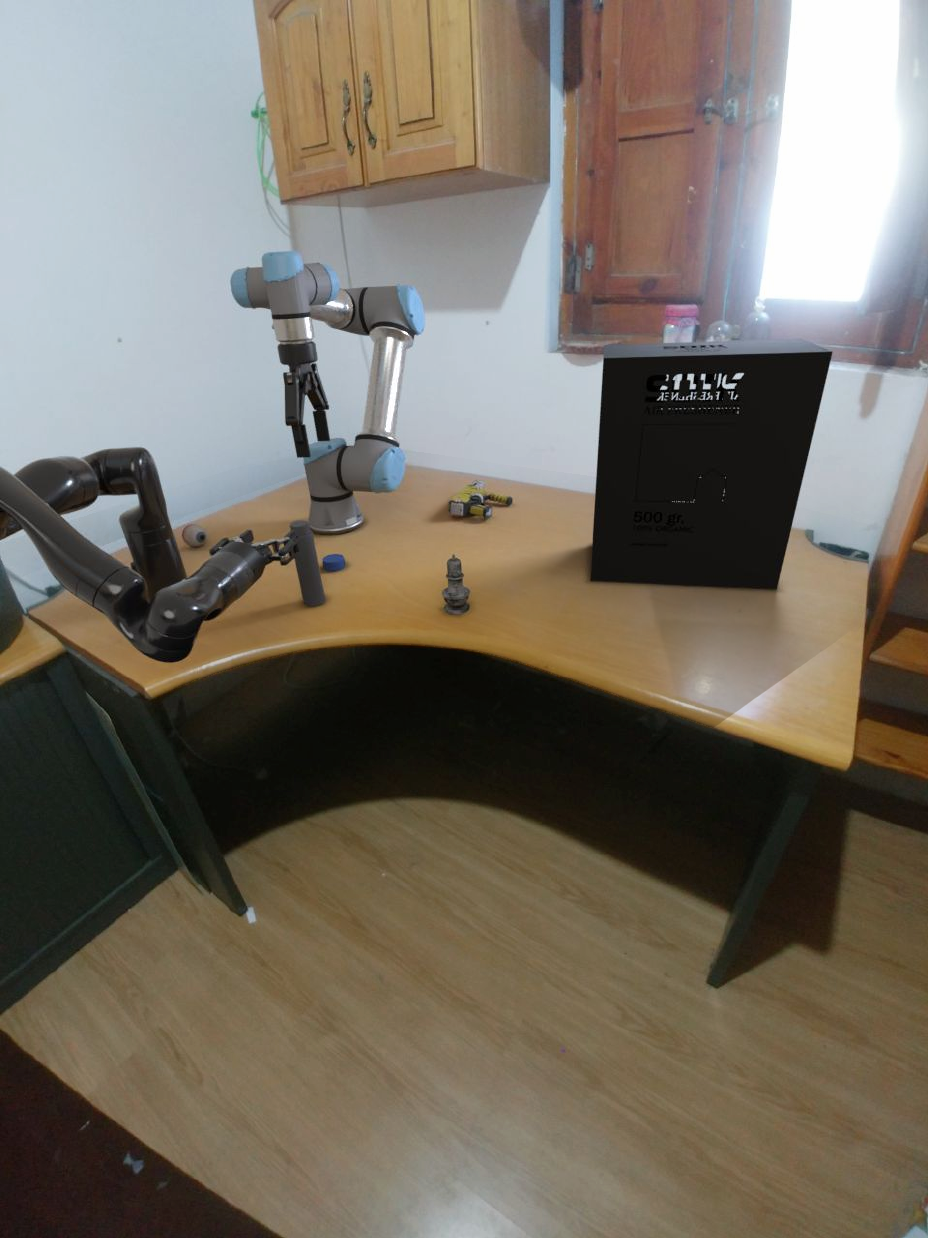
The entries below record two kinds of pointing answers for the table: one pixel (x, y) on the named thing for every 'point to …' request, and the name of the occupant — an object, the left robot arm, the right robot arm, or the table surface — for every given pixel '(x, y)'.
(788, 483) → the cardboard box
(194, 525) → the eyeball
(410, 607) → the table surface
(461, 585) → the dark grey chess piece
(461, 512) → the toy gun
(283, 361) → the right robot arm
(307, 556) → the dark gray cylinder
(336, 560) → the lid
